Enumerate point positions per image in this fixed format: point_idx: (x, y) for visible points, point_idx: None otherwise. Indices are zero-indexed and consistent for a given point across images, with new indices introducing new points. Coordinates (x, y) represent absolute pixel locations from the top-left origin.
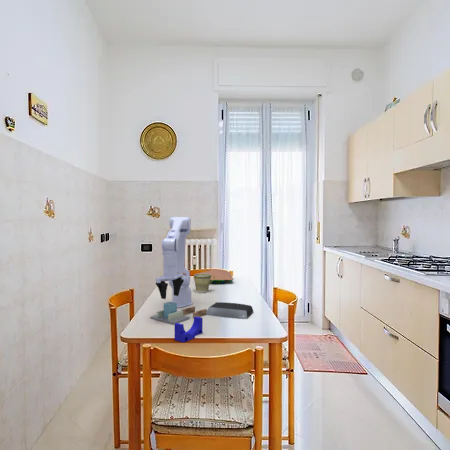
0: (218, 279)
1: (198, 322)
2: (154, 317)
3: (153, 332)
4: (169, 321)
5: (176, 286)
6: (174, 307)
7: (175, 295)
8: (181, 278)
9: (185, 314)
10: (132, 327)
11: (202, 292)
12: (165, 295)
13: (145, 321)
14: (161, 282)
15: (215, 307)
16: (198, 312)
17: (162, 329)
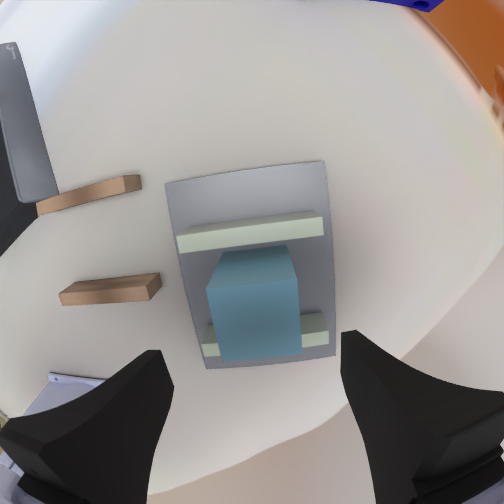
0: None
1: None
2: (333, 328)
3: (458, 143)
4: (325, 199)
5: (127, 436)
6: (239, 273)
7: (168, 372)
8: (20, 477)
9: (138, 276)
10: (468, 277)
11: (5, 416)
12: (364, 345)
13: (384, 321)
14: (490, 469)
15: (7, 162)
16: (93, 184)
17: (411, 141)
